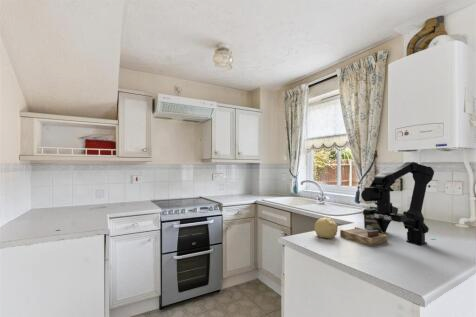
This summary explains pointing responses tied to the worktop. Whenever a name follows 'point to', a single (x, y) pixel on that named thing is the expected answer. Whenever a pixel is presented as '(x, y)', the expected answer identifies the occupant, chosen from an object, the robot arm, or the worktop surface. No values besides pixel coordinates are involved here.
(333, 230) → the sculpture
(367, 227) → the chalk box
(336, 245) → the worktop surface
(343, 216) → the worktop surface
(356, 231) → the cover plate
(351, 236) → the tan wooden rectangular frame
